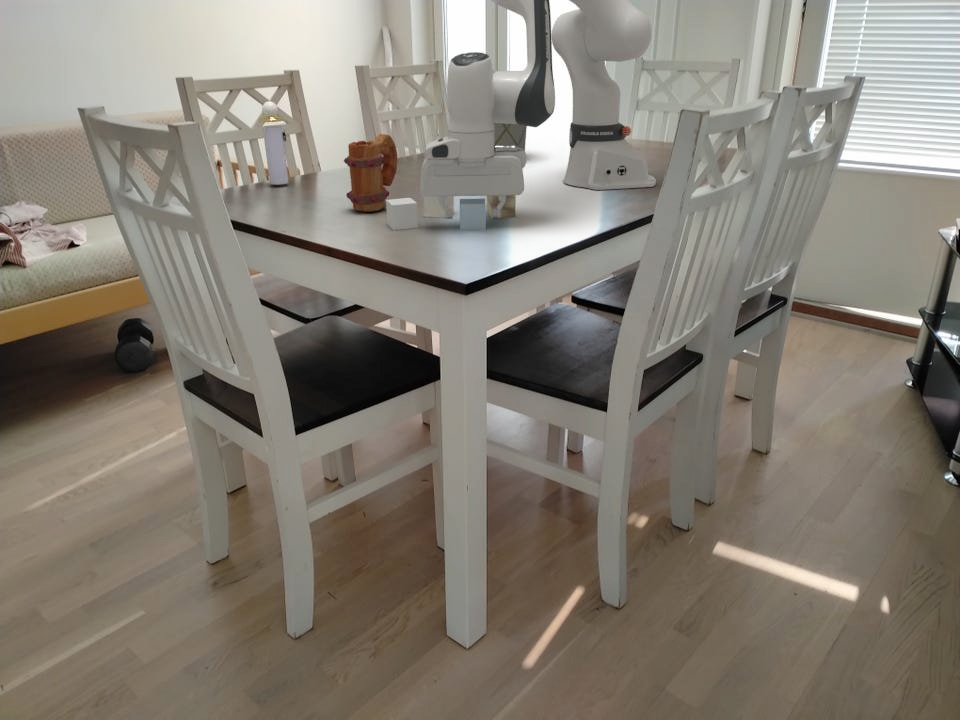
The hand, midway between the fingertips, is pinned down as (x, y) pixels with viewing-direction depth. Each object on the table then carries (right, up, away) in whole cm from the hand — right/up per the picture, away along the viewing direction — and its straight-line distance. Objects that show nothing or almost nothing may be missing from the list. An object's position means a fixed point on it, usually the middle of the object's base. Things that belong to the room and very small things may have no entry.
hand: (472, 217), depth 145 cm
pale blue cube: (0, -2, +1) cm, 2 cm away
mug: (-21, +5, +16) cm, 27 cm away
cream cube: (-7, +3, +10) cm, 12 cm away
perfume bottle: (-49, +15, +38) cm, 64 cm away
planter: (+6, +29, +67) cm, 73 cm away
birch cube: (+6, +2, +9) cm, 11 cm away
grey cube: (-14, -1, +2) cm, 14 cm away
